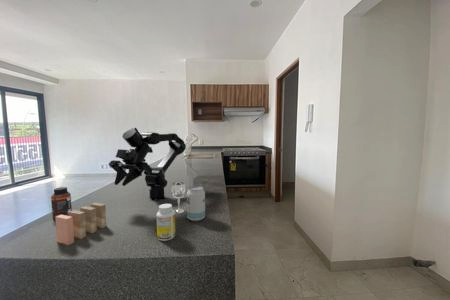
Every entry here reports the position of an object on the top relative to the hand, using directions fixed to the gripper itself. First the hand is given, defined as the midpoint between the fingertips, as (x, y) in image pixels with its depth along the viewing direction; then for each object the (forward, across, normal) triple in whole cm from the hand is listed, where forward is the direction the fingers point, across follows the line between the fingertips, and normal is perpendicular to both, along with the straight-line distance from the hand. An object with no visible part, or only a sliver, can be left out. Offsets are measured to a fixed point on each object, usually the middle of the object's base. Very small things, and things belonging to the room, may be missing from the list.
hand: (119, 184), depth 76 cm
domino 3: (+18, 0, 0) cm, 18 cm away
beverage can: (+4, +30, +14) cm, 33 cm away
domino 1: (+23, 0, -5) cm, 24 cm away
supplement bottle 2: (+14, +27, +4) cm, 31 cm away
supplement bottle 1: (+15, -22, +4) cm, 26 cm away
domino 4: (+15, 0, +2) cm, 16 cm away
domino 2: (+20, 0, -3) cm, 21 cm away
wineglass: (+1, +20, +17) cm, 26 cm away
